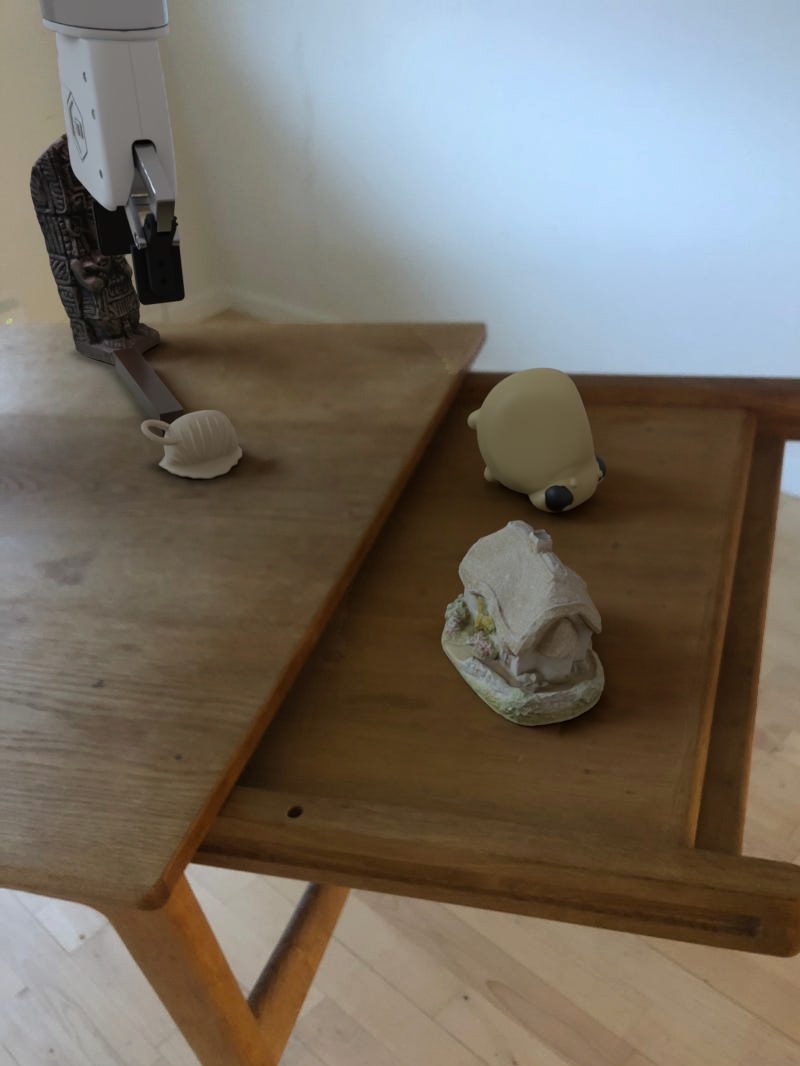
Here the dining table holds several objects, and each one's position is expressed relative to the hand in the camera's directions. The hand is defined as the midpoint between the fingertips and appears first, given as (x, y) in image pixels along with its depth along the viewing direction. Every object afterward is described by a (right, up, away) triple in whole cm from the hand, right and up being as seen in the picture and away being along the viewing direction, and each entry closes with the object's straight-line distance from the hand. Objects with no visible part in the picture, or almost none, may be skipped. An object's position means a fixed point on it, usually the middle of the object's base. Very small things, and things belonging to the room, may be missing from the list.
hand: (141, 276), depth 71 cm
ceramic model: (+28, -28, -4) cm, 40 cm away
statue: (-12, +3, +27) cm, 30 cm away
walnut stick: (-6, -4, +19) cm, 21 cm away
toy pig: (+30, -14, +13) cm, 35 cm away
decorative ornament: (+1, -12, +11) cm, 17 cm away
